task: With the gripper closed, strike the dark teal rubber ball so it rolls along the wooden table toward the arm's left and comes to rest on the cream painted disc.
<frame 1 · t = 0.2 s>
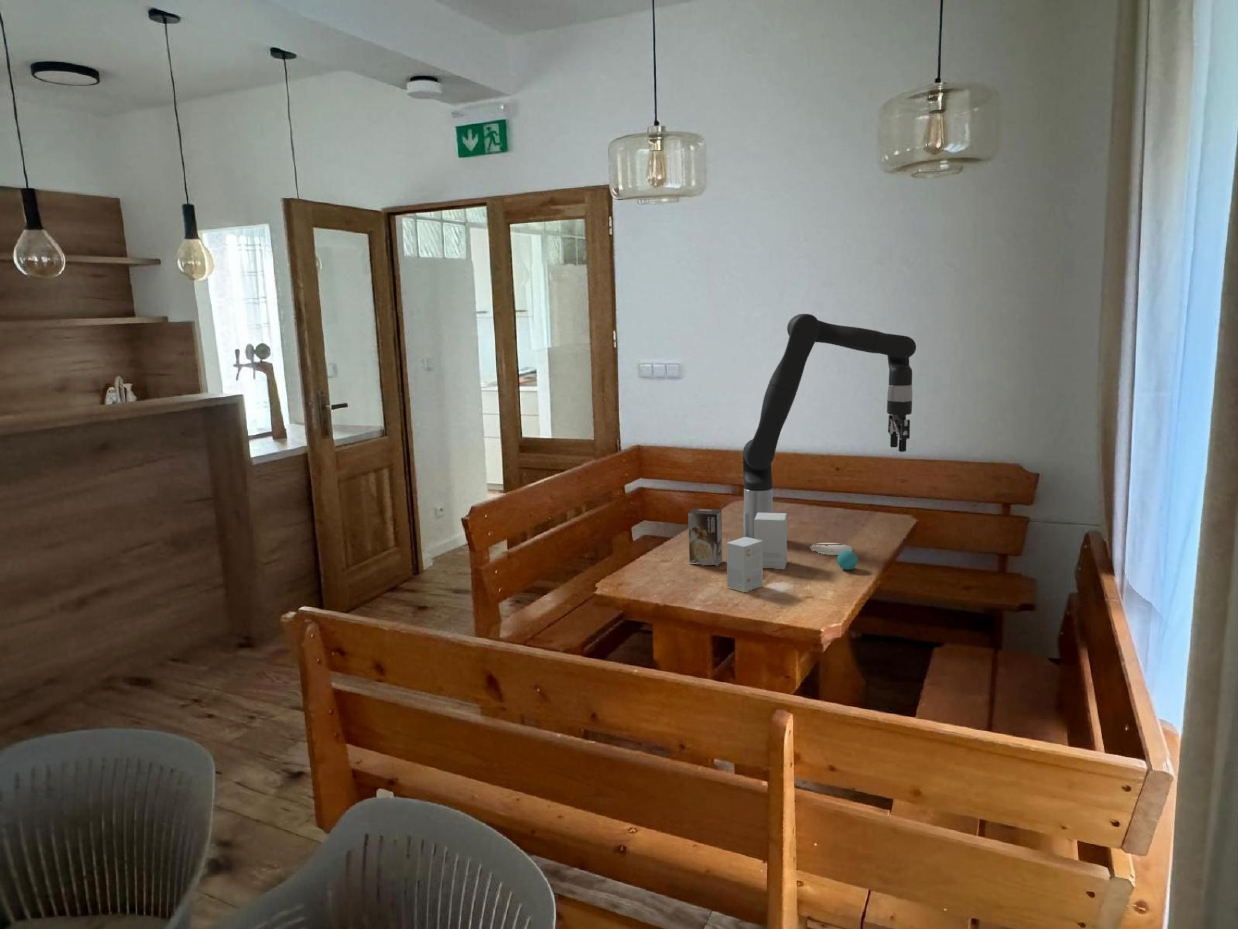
hand: (898, 449, 262), 29 cm above the table, tool pointing down, fingers open, 8 cm apart
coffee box: (705, 563, 245), on the table
small box: (744, 588, 223), on the table
supplement box: (770, 565, 242), on the table
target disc: (830, 549, 256), on the table
ball: (847, 560, 235), on the table
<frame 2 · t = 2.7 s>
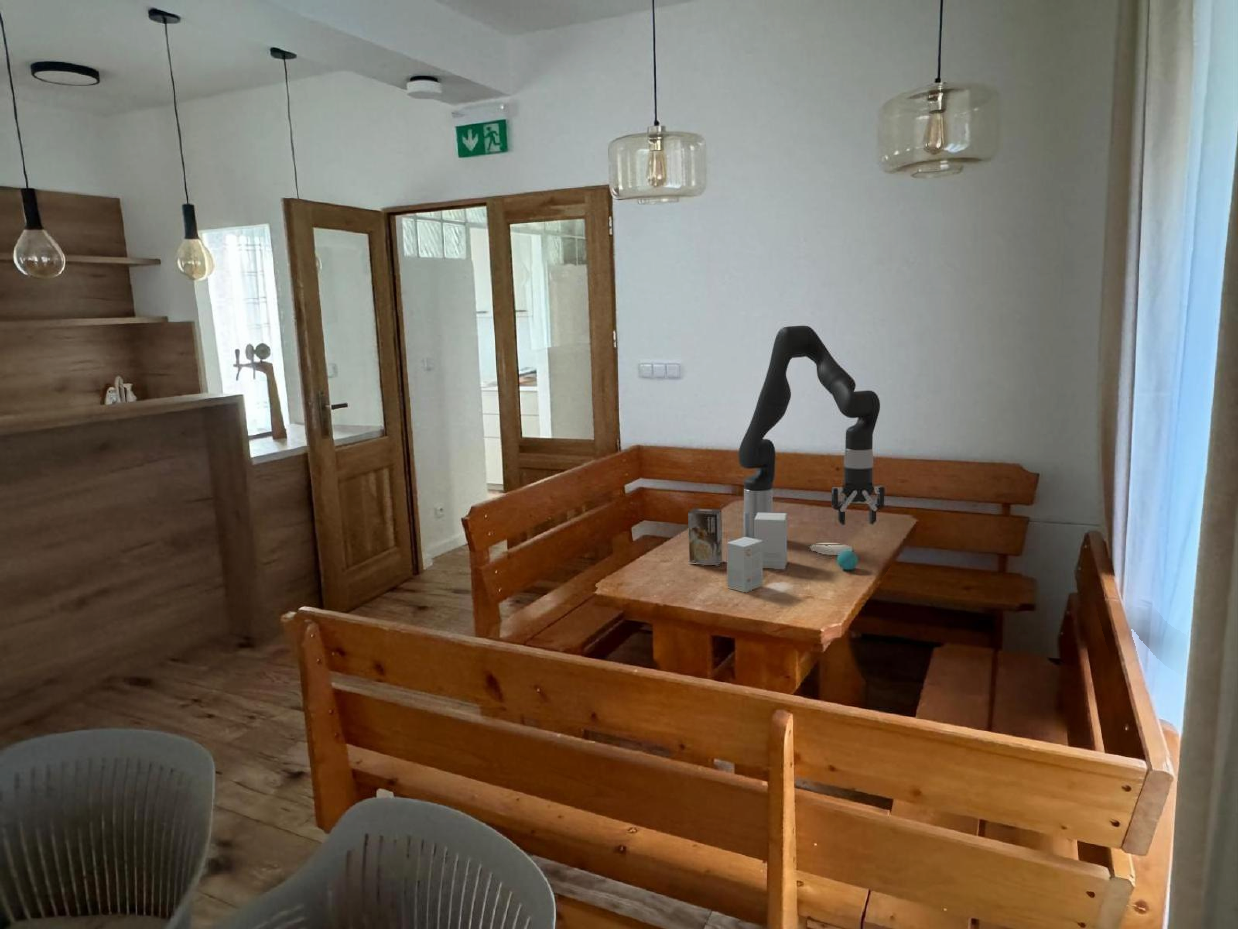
hand: (857, 524, 223), 16 cm above the table, tool pointing down, fingers open, 7 cm apart
nothing on the table moved.
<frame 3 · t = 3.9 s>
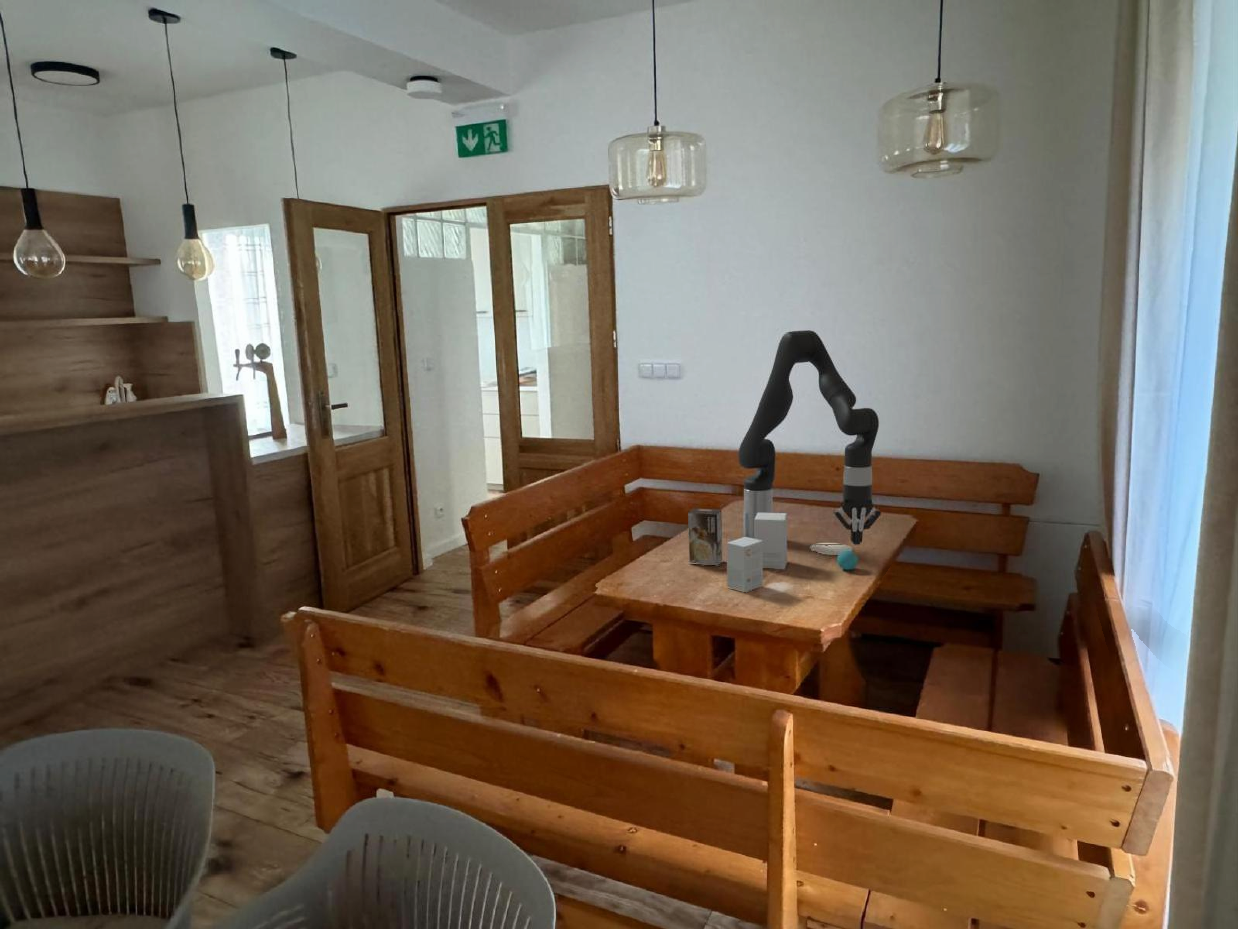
hand: (856, 543, 224), 10 cm above the table, tool pointing down, fingers closed
nothing on the table moved.
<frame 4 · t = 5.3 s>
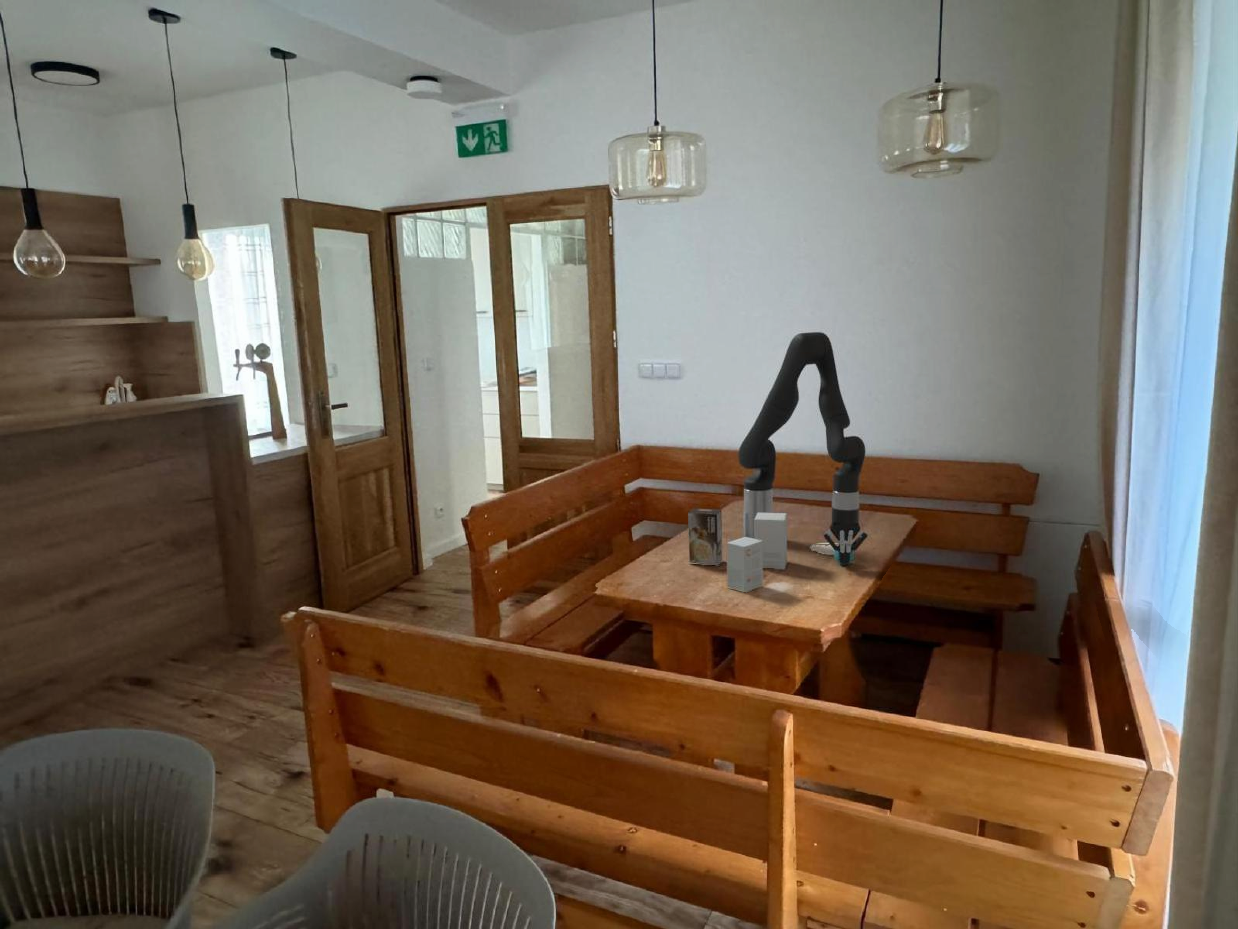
hand: (844, 564, 236), 1 cm above the table, tool pointing down, fingers closed
ball: (844, 554, 240), on the table
everything else where it was.
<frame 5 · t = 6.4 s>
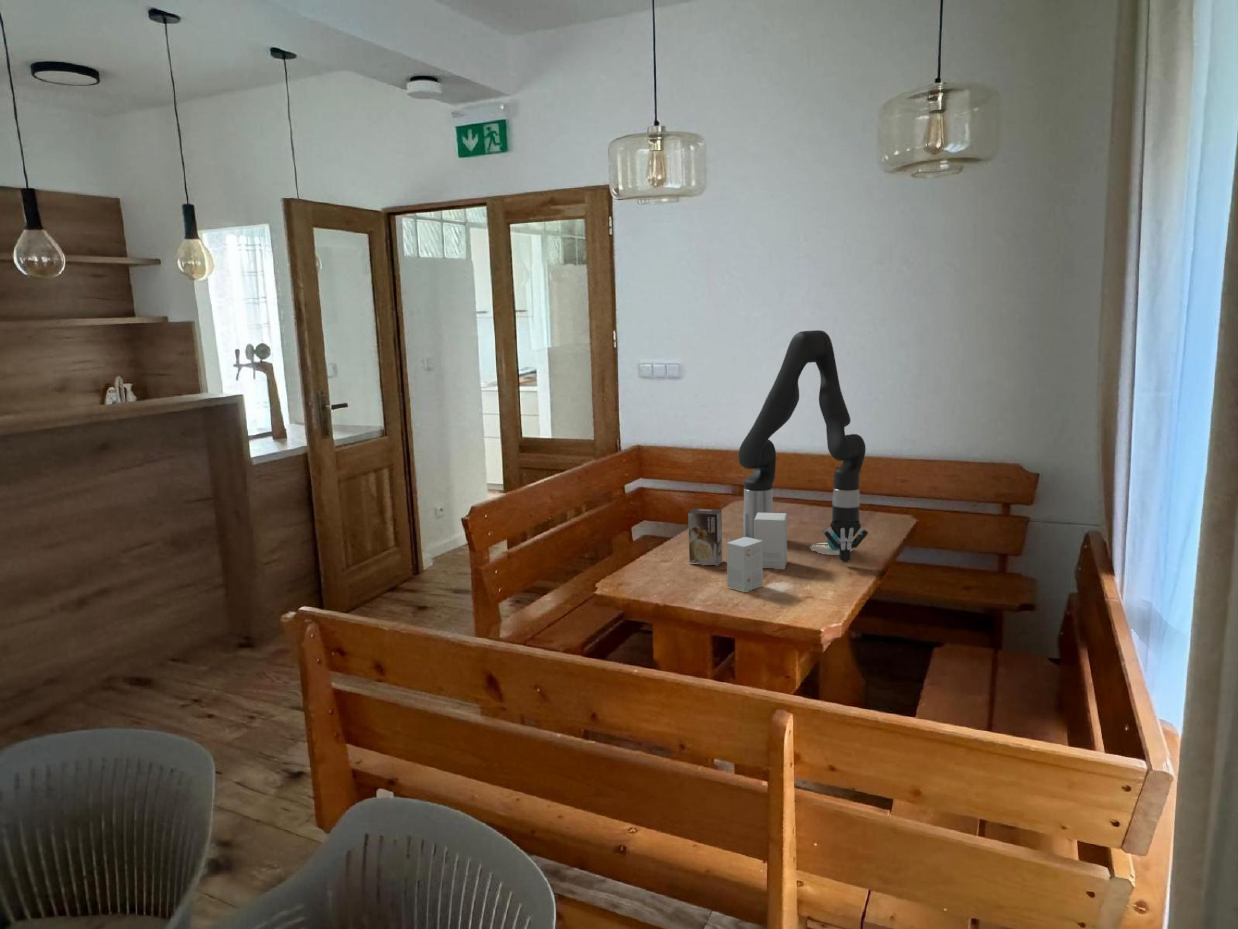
hand: (844, 561, 238), 2 cm above the table, tool pointing down, fingers closed
ball: (836, 540, 255), on the table
everything else where it was.
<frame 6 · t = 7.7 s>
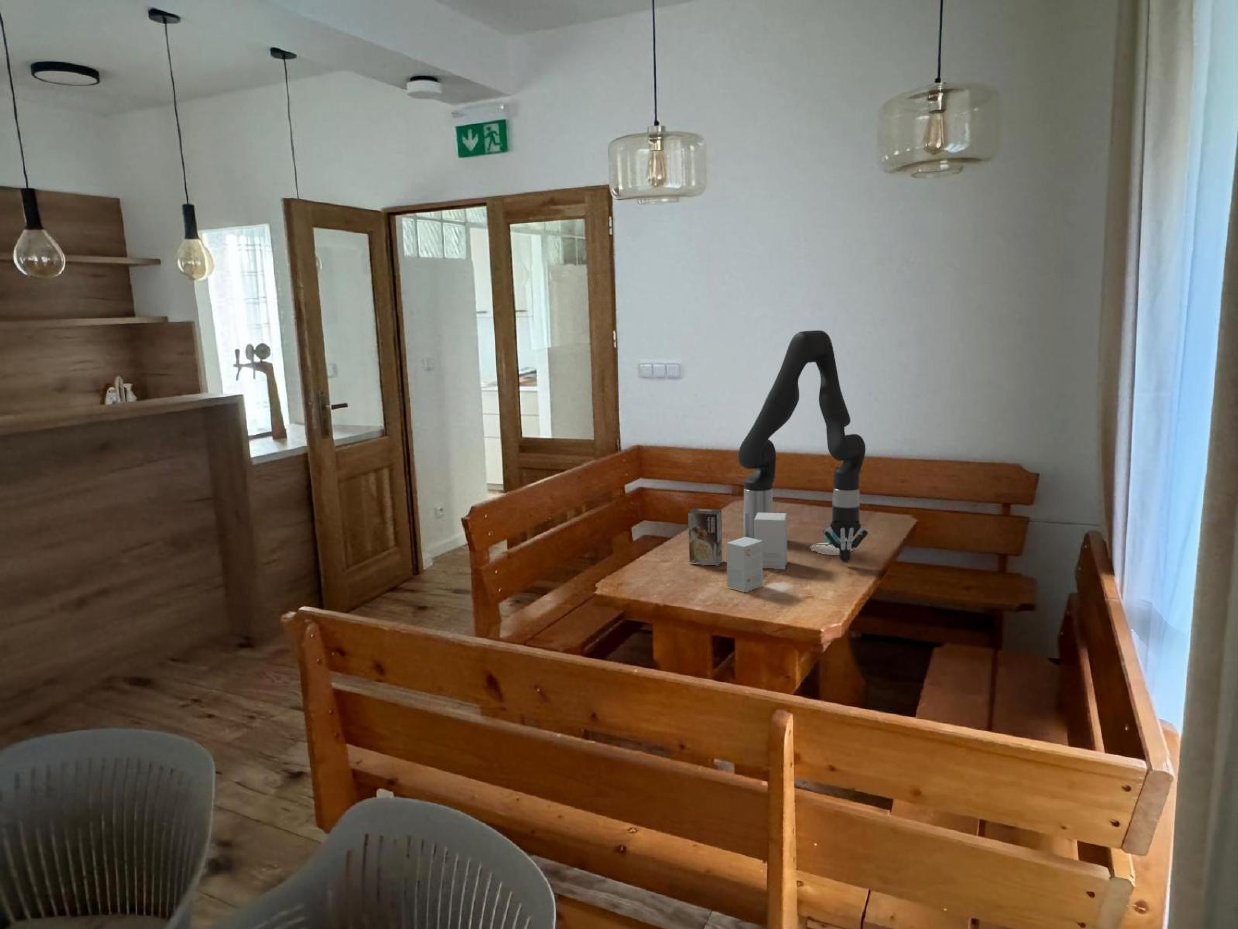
hand: (844, 561, 238), 2 cm above the table, tool pointing down, fingers closed
ball: (833, 535, 261), on the table
everything else where it was.
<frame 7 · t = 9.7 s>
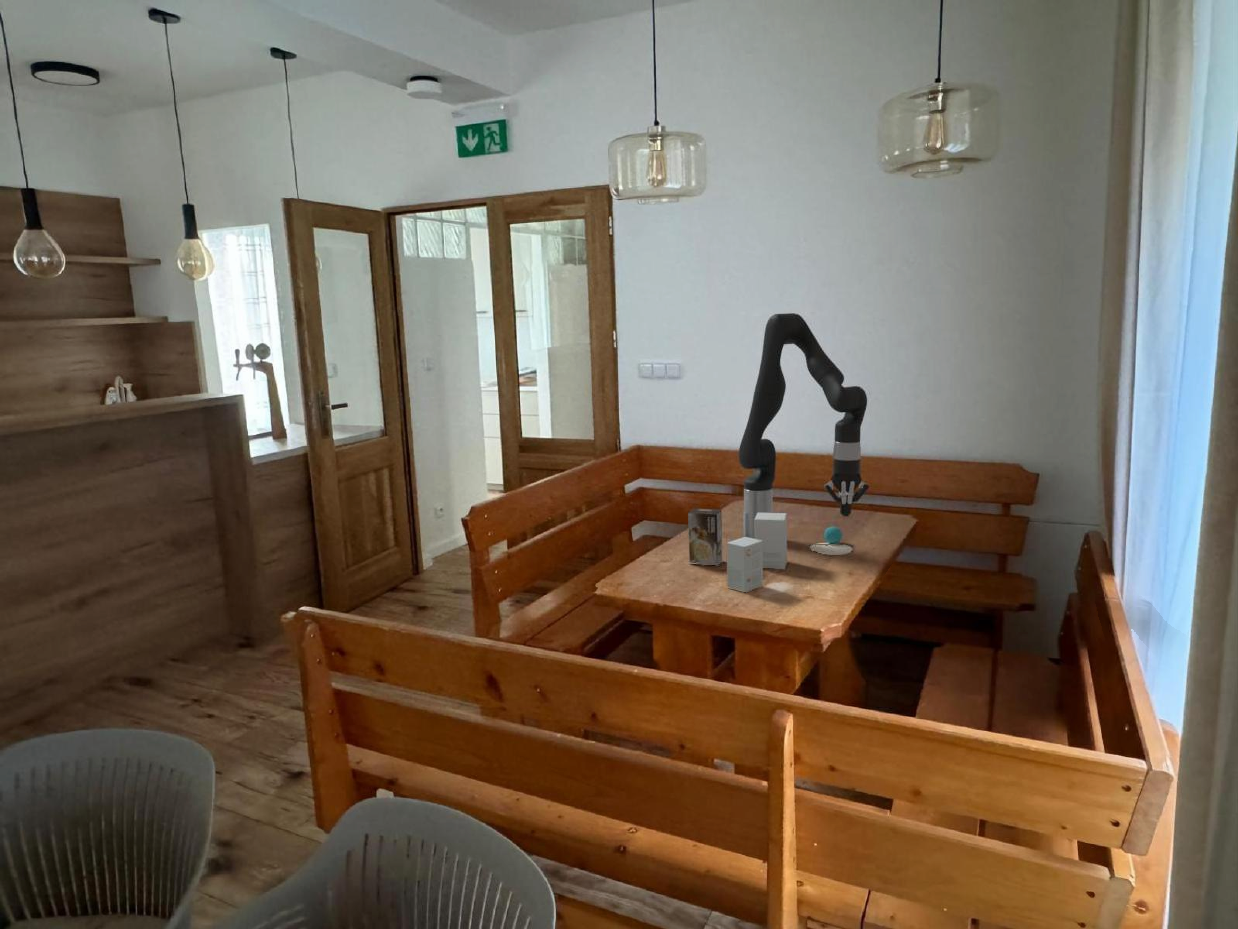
hand: (845, 515, 235), 15 cm above the table, tool pointing down, fingers closed
nothing on the table moved.
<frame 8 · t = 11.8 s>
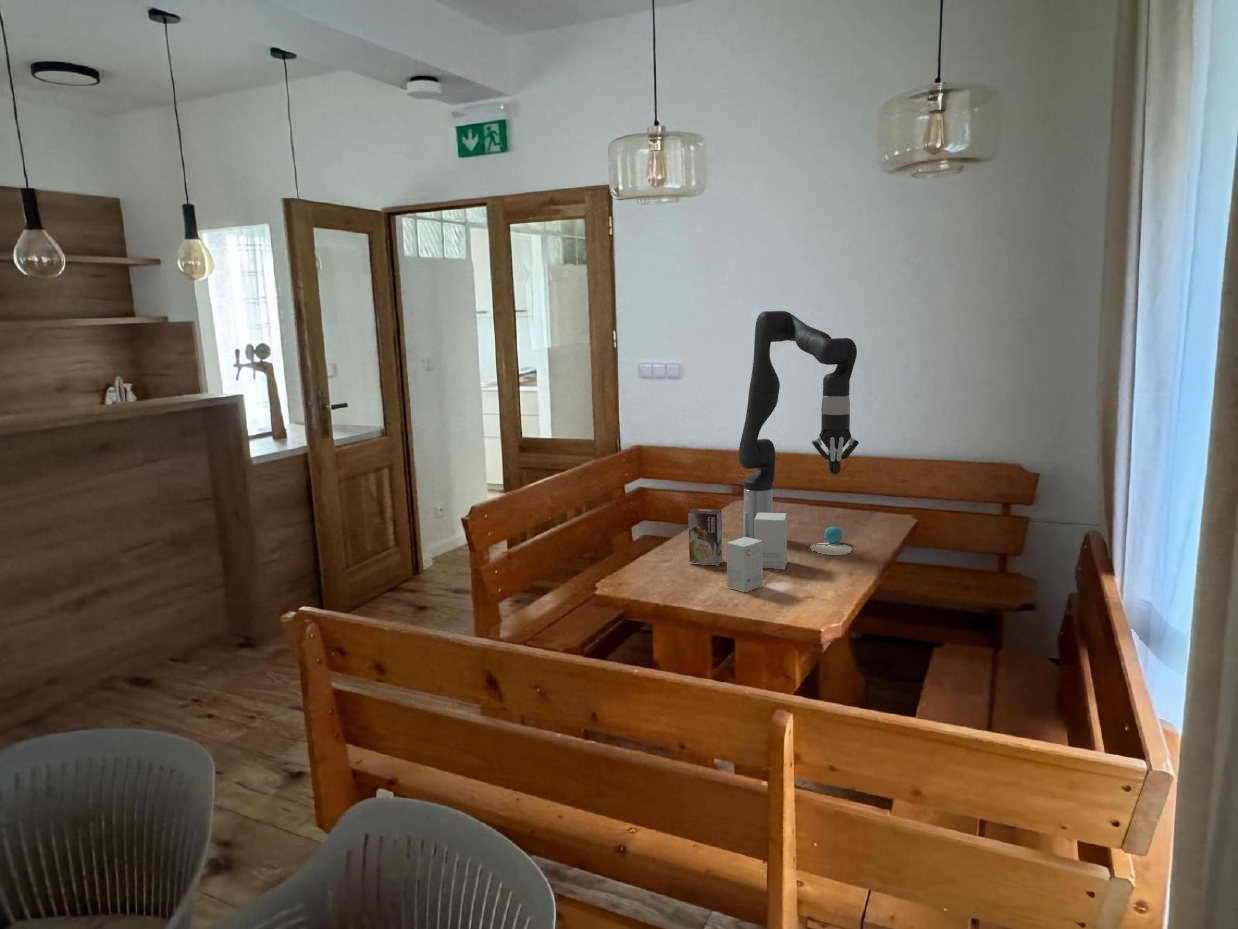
hand: (834, 473, 226), 29 cm above the table, tool pointing down, fingers closed
nothing on the table moved.
at the end: ball 6.5 cm from the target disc (horizontally); ball at rest at the end (0.0 cm/s); ball moved 27.2 cm from its start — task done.
